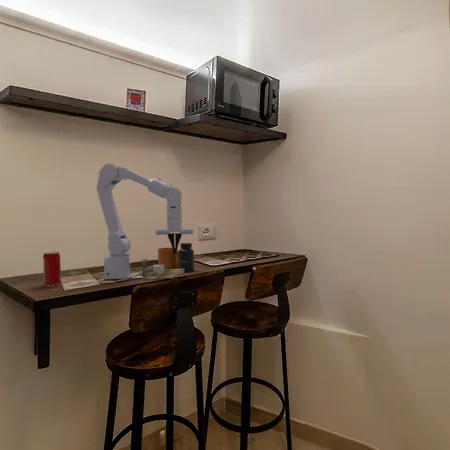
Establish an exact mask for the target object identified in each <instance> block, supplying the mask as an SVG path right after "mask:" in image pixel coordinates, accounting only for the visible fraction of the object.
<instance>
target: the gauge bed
mask: <svg viewBox="0 0 450 450" xmlns="http://www.w3.org/2000/svg"><path fill="white" fill-rule="evenodd" d="M147 261H148V259H147V258H143V259H142V260H141V280H165V279H164V278H168V277H176V276H180V275H184V274H185V273H186V272H185V271H184V269H178V268H175V269H164V272H154V273H153V269H148V267H147V266H148V265H147V264H148V263H147Z"/></svg>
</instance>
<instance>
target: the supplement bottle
mask: <svg viewBox="0 0 450 450" xmlns="http://www.w3.org/2000/svg"><path fill="white" fill-rule="evenodd" d="M177 269H184V271H185V273H191V272H194V271H195V251H194V249H193V245H192V242H180V249H179V250H178V268H177Z"/></svg>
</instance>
